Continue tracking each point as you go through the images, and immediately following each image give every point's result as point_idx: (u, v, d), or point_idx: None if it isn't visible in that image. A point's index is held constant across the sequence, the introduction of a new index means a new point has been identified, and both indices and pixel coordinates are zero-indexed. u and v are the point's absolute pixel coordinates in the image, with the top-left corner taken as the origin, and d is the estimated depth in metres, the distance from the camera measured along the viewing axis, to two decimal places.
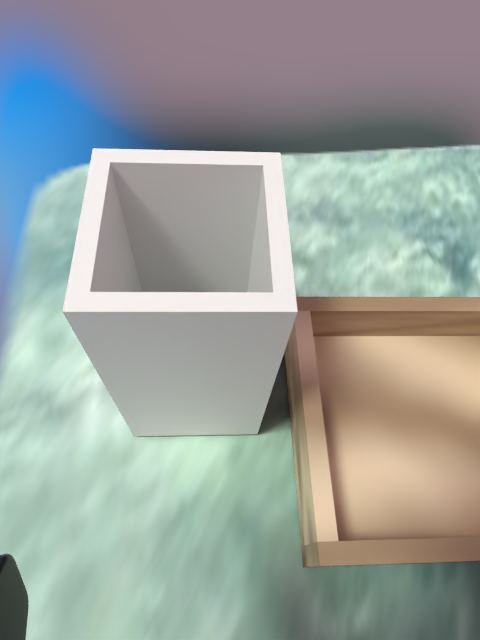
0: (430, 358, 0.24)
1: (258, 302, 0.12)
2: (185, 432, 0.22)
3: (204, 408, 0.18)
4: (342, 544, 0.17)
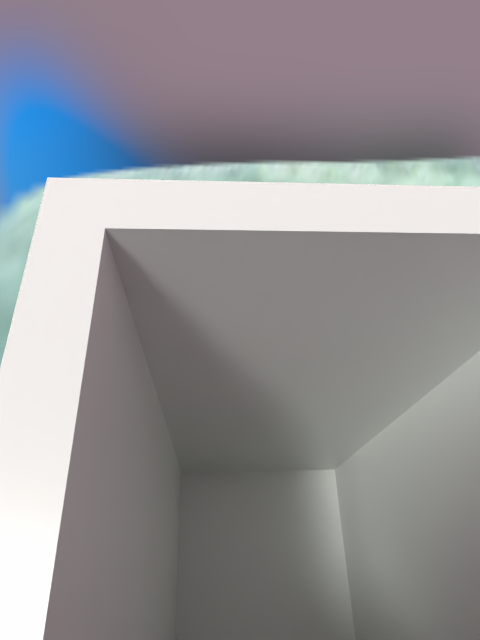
0: None
1: None
2: None
3: None
4: None
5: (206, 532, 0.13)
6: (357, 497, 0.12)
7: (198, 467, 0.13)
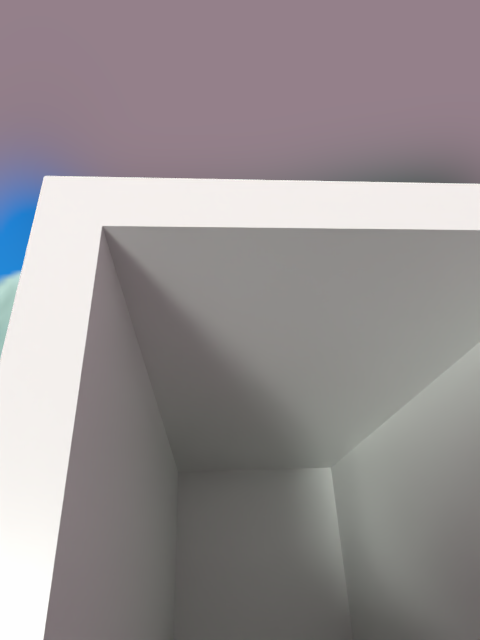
0: None
1: None
2: None
3: None
4: None
5: (203, 531, 0.13)
6: (353, 494, 0.12)
7: (195, 466, 0.13)
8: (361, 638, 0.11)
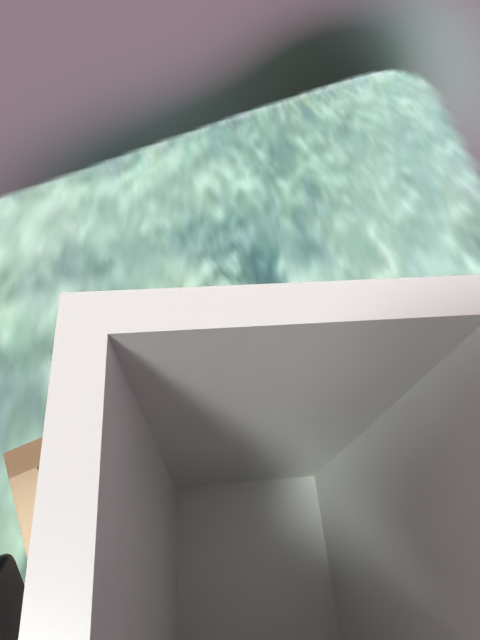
0: None
1: None
2: None
3: None
4: None
5: (201, 540, 0.15)
6: (333, 501, 0.13)
7: (190, 482, 0.15)
8: (345, 629, 0.13)
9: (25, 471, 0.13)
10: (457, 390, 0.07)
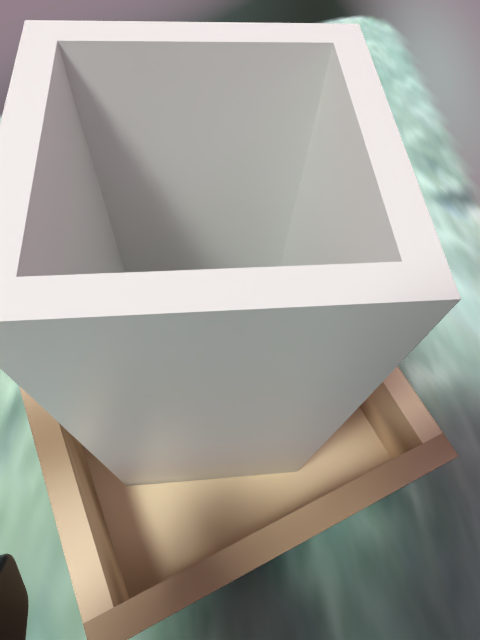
0: None
1: (376, 284, 0.06)
2: (199, 477, 0.15)
3: (231, 452, 0.12)
4: (119, 608, 0.12)
5: None
6: None
7: None
8: None
9: None
10: (322, 125, 0.09)
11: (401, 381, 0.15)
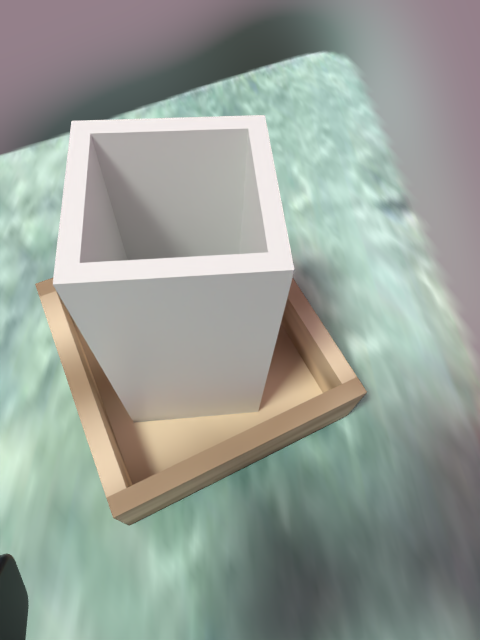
0: None
1: (253, 263, 0.12)
2: (185, 414, 0.21)
3: (203, 386, 0.18)
4: (130, 489, 0.18)
5: None
6: None
7: None
8: None
9: (49, 293, 0.22)
10: (247, 173, 0.15)
11: (329, 342, 0.21)
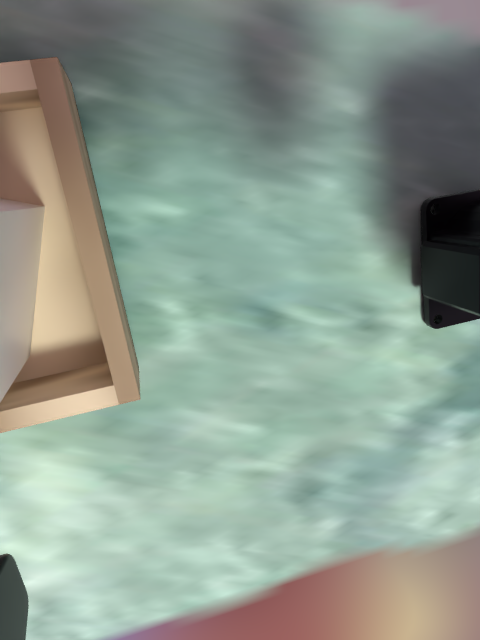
0: None
1: None
2: (33, 299, 0.17)
3: (12, 293, 0.14)
4: (115, 381, 0.17)
5: None
6: None
7: None
8: None
9: None
10: None
11: None
